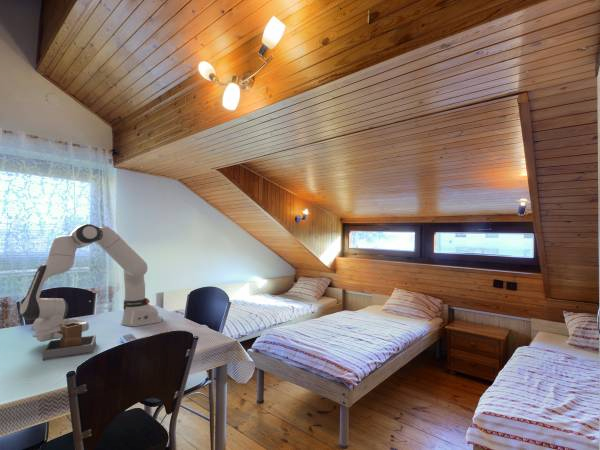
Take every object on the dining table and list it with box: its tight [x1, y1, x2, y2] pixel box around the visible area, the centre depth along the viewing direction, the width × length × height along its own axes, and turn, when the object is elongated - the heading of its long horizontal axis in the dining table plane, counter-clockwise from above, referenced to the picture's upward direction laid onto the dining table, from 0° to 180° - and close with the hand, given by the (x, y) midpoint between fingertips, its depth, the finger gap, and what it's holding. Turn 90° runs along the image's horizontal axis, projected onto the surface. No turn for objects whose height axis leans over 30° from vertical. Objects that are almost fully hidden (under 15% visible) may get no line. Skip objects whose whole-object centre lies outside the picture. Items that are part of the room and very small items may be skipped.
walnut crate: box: [59, 322, 83, 348], centre depth 147 cm, size 6×6×10 cm
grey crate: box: [42, 334, 97, 361], centre depth 147 cm, size 18×14×4 cm
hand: (72, 333), depth 147 cm, fingers closed on walnut crate, 6 cm apart
